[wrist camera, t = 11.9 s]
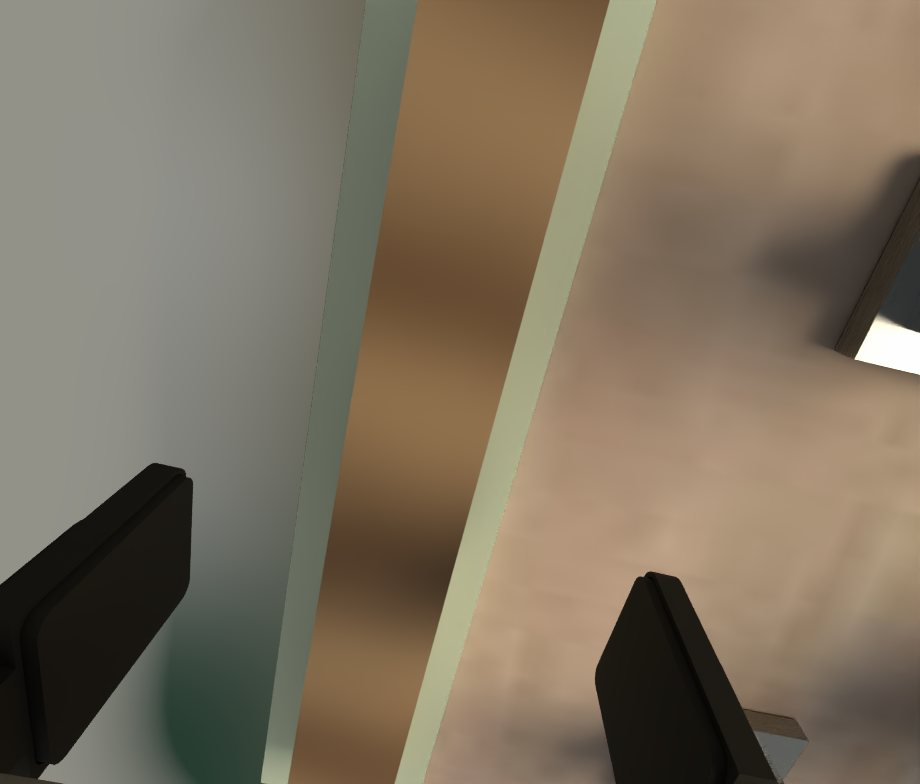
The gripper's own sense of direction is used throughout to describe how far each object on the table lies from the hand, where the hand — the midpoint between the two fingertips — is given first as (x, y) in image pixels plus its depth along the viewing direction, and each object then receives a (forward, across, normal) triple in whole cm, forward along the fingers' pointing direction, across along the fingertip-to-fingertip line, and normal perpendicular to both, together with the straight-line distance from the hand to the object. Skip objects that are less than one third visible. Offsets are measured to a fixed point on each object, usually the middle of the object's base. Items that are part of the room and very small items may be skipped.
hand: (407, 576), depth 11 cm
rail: (+4, 0, +1) cm, 4 cm away
